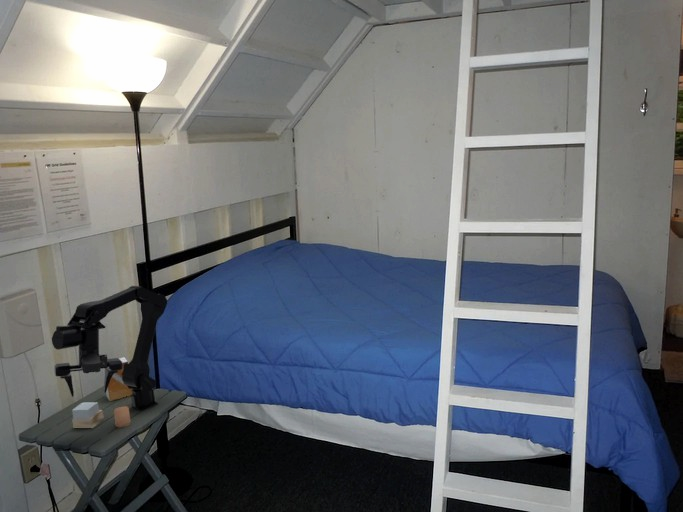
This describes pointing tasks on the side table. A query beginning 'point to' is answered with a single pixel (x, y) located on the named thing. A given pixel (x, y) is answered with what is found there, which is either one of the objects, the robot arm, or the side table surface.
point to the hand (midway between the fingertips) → (89, 394)
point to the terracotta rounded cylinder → (122, 416)
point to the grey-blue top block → (85, 410)
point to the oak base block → (88, 421)
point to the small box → (117, 384)
